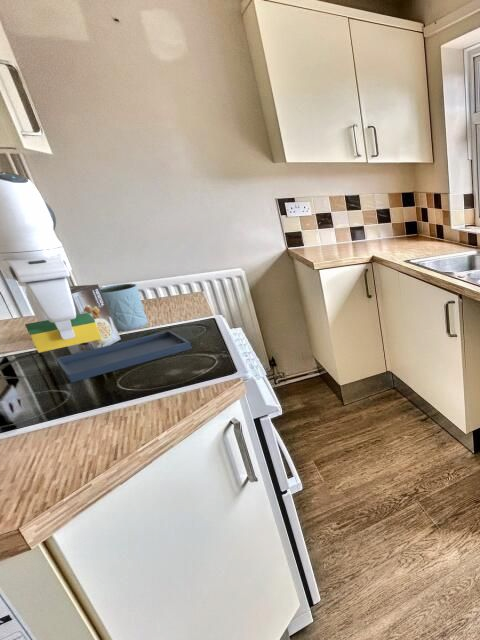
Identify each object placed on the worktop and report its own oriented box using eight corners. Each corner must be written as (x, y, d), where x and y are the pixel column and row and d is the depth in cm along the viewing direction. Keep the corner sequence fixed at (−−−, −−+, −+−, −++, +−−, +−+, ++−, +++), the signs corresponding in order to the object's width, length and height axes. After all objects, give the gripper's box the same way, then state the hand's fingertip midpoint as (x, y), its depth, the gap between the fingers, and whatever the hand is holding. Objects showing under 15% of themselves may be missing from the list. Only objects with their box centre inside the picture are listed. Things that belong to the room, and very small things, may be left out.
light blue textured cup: (158, 320, 133) (145, 283, 128) (130, 332, 124) (114, 292, 119) (128, 320, 134) (114, 283, 129) (97, 332, 124) (81, 292, 120)
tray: (71, 382, 94) (67, 374, 93) (58, 366, 102) (54, 358, 102) (191, 348, 111) (189, 341, 110) (172, 336, 119) (169, 330, 119)
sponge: (38, 352, 79) (28, 330, 77) (34, 345, 83) (24, 324, 81) (102, 339, 86) (93, 318, 84) (96, 332, 89) (87, 312, 87)
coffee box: (96, 341, 117) (72, 285, 111) (121, 339, 118) (99, 283, 112) (69, 354, 109) (42, 294, 103) (97, 352, 110) (72, 293, 104)
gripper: (6, 261, 82) (36, 327, 87) (16, 274, 70) (50, 350, 75) (51, 256, 87) (77, 320, 92) (68, 268, 75) (97, 340, 80)
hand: (65, 334), depth 84 cm, fingers closed on sponge, 6 cm apart
